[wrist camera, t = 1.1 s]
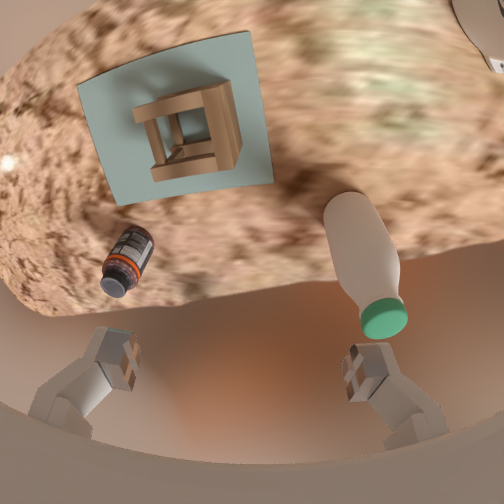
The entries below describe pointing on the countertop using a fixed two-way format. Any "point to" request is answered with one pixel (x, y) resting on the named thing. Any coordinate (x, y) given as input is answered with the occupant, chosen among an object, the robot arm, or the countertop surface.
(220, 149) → the open wooden box
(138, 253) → the supplement bottle
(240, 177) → the mat
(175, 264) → the countertop surface
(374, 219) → the milk bottle
